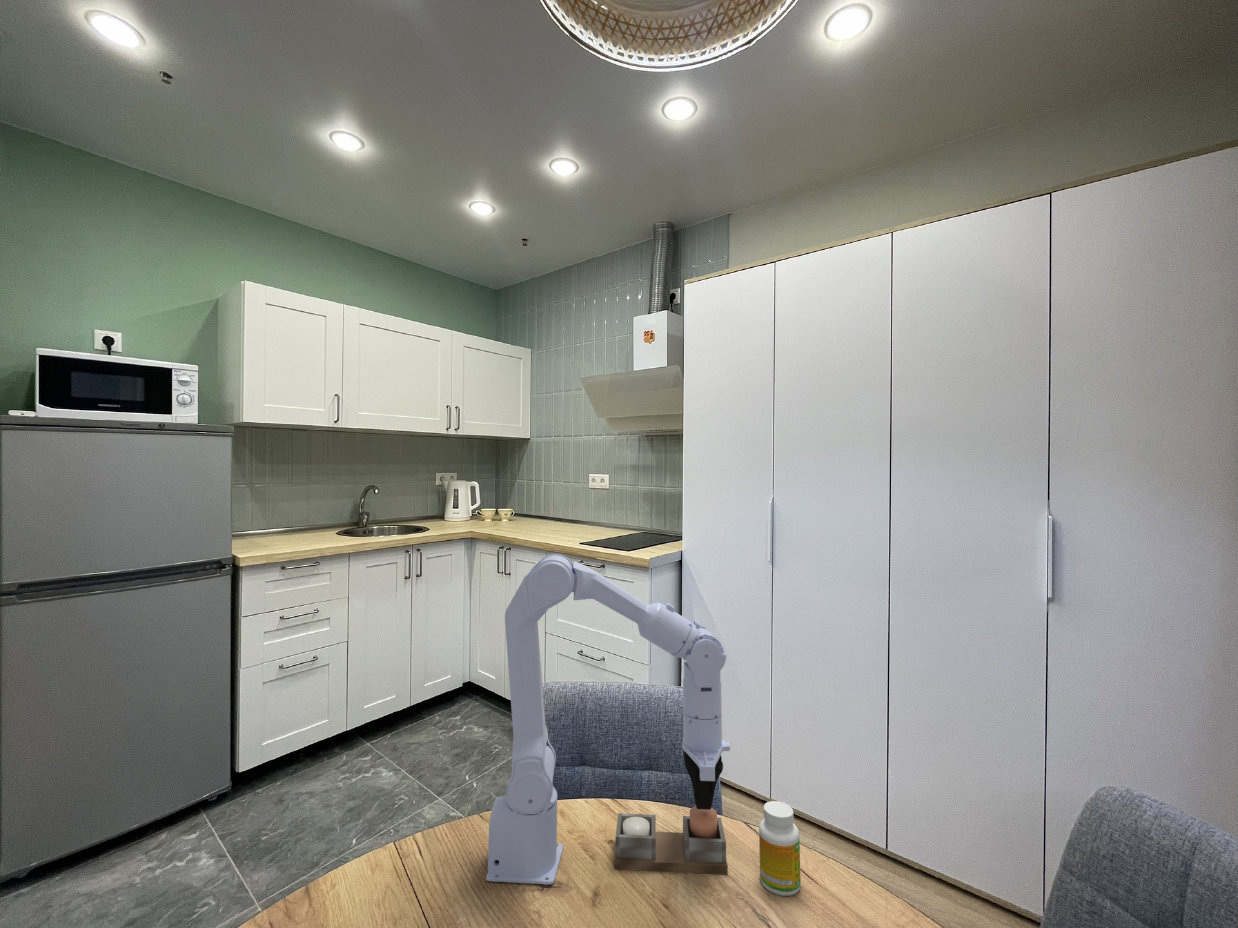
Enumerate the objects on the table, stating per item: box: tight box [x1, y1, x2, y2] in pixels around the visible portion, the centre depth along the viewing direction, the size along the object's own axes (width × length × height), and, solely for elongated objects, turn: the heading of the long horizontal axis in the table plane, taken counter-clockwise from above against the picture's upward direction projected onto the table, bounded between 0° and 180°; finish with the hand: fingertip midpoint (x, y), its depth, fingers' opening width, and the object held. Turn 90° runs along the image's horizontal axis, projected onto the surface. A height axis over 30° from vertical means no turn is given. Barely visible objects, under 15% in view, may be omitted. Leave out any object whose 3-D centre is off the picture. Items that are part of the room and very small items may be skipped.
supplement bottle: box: [758, 800, 802, 897], centre depth 72 cm, size 5×5×10 cm
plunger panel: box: [613, 812, 729, 876], centre depth 77 cm, size 16×7×4 cm, turn 86°
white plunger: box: [623, 817, 650, 836], centre depth 77 cm, size 4×4×2 cm
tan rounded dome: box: [689, 805, 718, 838], centre depth 77 cm, size 4×4×2 cm
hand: (703, 806), depth 77 cm, fingers closed
